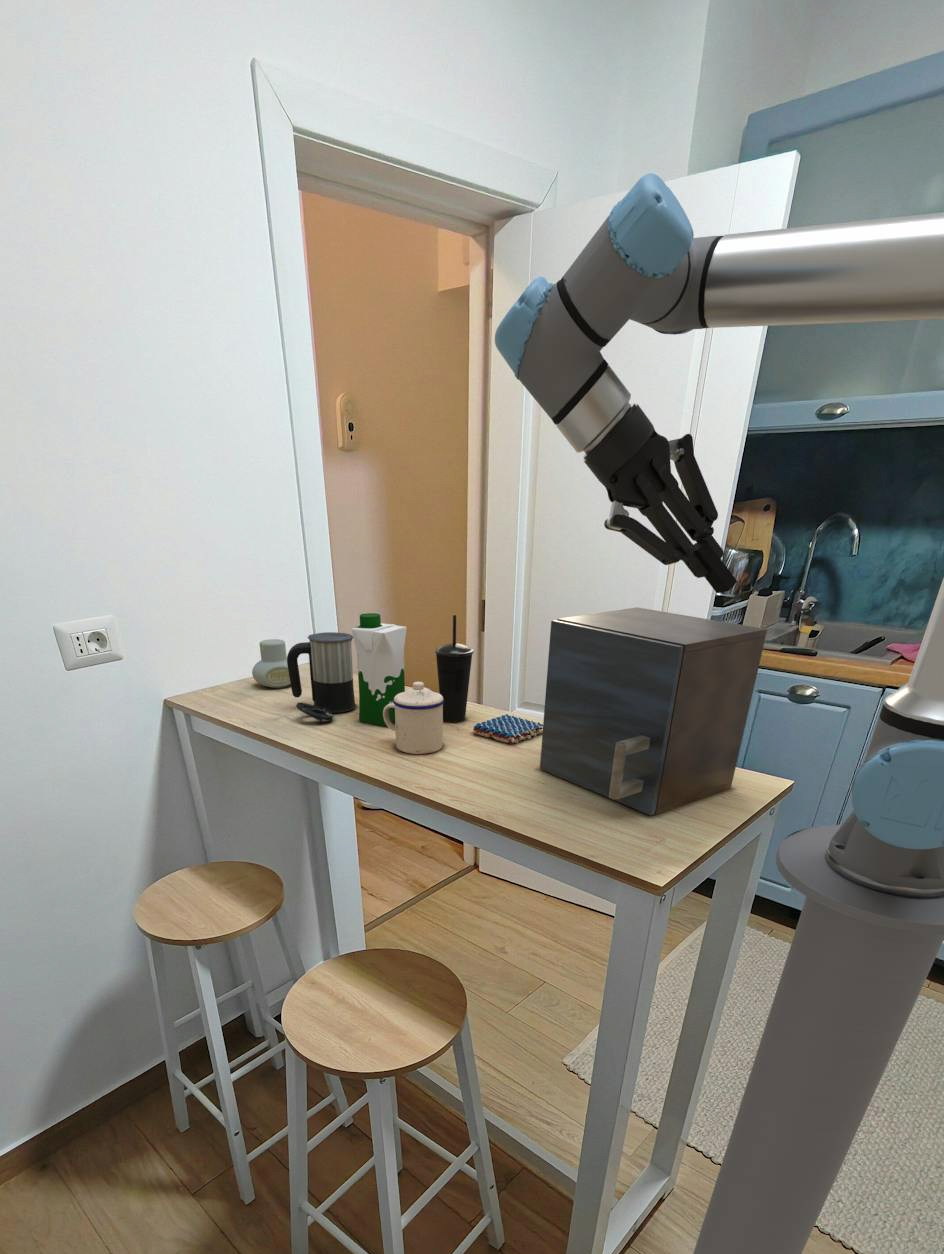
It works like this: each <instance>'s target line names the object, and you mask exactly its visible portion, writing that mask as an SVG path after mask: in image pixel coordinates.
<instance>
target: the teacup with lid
mask: <svg viewBox="0 0 944 1254" xmlns="http://www.w3.org/2000/svg"><path fill="white" fill-rule="evenodd" d="M443 703H444V699H443V697H442V695H441V694H440V693H439V692H436V691H432V690H431V689H430V688H428V687H425V684H424V682H423V681H414V682H413V683H412V687H410V688H408V689H405V692H402V693H399V694H397V695H396V696H395V697H394V700H393V703H390V704H388V705H386V706H385V708H384V710H383V718H384V721H385V723H386V725H387V728H388V729H390V730H392V731H394V732H395V745H396V746H395V747H396V749H397V750H399V751H400V752H403V753H406V754H412V755H425V754H432V753H435V752H438V751H440V750H441V749H442V747H443V746H444V745H443V743H444V741H443V740H444V736H443V735H444V733H443V732H444V728H443V727H444V723H443V722H444V721H443ZM389 708H395V723H394V724H393V723H392V722H391V721H390V718H389V715H388V711H389Z"/></svg>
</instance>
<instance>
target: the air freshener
mask: <svg viewBox="0 0 944 1254" xmlns="http://www.w3.org/2000/svg"><path fill="white" fill-rule="evenodd" d="M259 652H260V660H259V661H258V662H256V663H255V664H254V665H253V668H252V670H251V676H252V677H253V679H254V681H255V682H257V683H258V684H259V685H261V686H263V687H266V688H271V689H283V688H287V687H288V686H291V683H290V677H289V672H288V665H287V655H288V654H287V648H286V642H285V640H284V639H278V638H270V639H269V638H268V639H264V640H263V639H262V640H261V641H260V642H259Z"/></svg>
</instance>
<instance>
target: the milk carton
mask: <svg viewBox="0 0 944 1254" xmlns="http://www.w3.org/2000/svg"><path fill="white" fill-rule="evenodd" d="M381 618H382V617H381V614H380V613H374V612H368V613H361V614H359V625H358V626H355V627H352V628H351V635H352V636H353V642H354V645H355V651H356V662H357V663H356V664H357V678H358V681H357V682H358V721H359V722H361V723H365V724H371V725H375V726H376V725H377V726H380V727H381V726H382V727H387V728H388V726H387V725H386V723H385V721H384V718H383V710H384V708H385V706H386V705H388V704H390V703H393V700H394V697H395V696H396V695H397V694H399V693H402V692H405V691H406V685H405V684H406V682H405V646H406V645H405V644H406V636H407V635H406V634H407V626H405V625H404V626H402V625H397V624H393V623H383V622H382V621H381ZM388 715H389V718H390V721H391V722H392V723H393V724H394V725H395V708H389V711H388Z"/></svg>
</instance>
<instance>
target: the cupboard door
mask: <svg viewBox="0 0 944 1254" xmlns="http://www.w3.org/2000/svg"><path fill="white" fill-rule="evenodd" d="M549 631H550V633H549V644H548V657H547V671H546V683H545V697H544V709H543V710H544V711H543V723H542V725H543V726H542V727H543V729H542V730H543V734H542V736H541V738H542V739H541V749H540V759H539V760H540V761H539V769H540V770H542V771H545V772H547V773H549V774H552V775H553V776H556V777H557V778H561V779H563V780H565V781H568V782H569V783H573V784H574V785H577V786H580V787H582V788H584V789H587V790H589V791H591V792H594V793H596V794H598V795H601V796H603V797H605V798H608V799H610V800H613V801H615V802H618V803H620V804H622V805H624V806H627V807H628V808H632V809H634V810H636V811H639V812H641V813H643V814H645V815H649V816H650V817H651V816H654V815H655V811H656V806H657V800H658V794H659V788H660V782H661V777H662V771H663V765H664V759H665V754H666V748H667V742H668V736H669V731H670V725H671V719H672V713H673V707H674V702H675V696H676V690H677V684H678V679H679V673H680V667H681V661H682V656H683V650H684V646H681V645H676V644H671V643H666V642H661V641H656V640H651V639H647V638H642V637H637V636H632V635H627V634H622V633H617V632H612V631H607V630H602V629H597V628H592V627H587V626H583V625H578V624H573V623H568V622H563V621H558V620H557V619H554V620H551V621H550V630H549Z"/></svg>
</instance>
